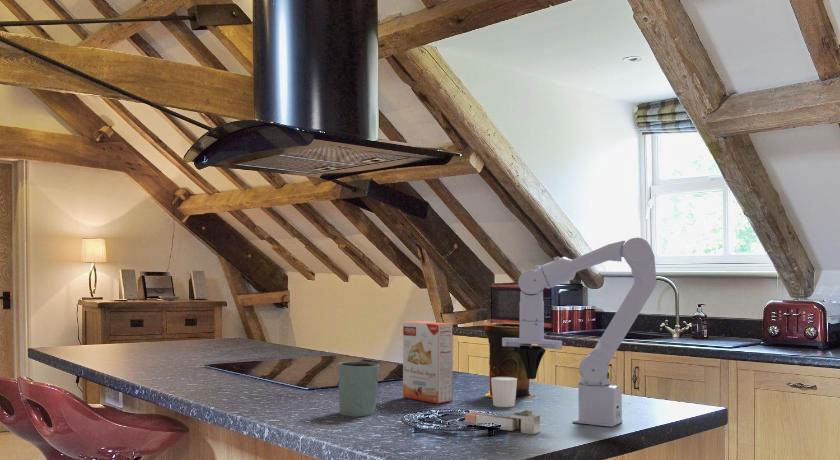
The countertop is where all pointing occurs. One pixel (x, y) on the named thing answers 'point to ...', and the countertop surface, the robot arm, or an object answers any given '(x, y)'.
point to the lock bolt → (520, 419)
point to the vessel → (506, 357)
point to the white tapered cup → (504, 391)
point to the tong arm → (516, 420)
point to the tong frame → (509, 421)
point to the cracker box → (428, 361)
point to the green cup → (358, 388)
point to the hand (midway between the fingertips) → (531, 378)
